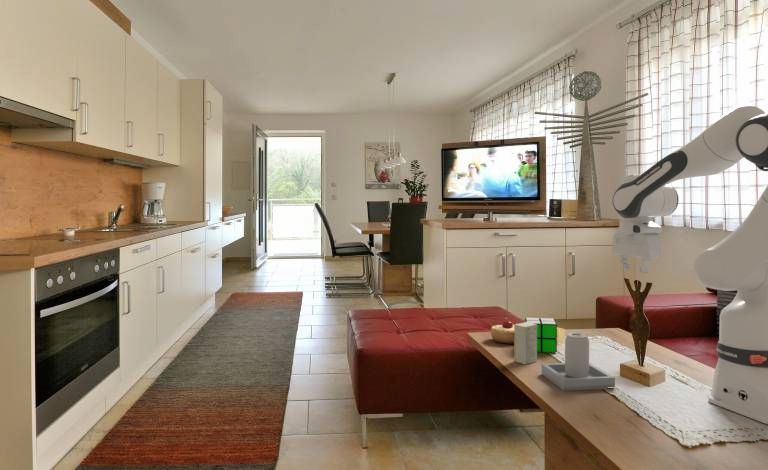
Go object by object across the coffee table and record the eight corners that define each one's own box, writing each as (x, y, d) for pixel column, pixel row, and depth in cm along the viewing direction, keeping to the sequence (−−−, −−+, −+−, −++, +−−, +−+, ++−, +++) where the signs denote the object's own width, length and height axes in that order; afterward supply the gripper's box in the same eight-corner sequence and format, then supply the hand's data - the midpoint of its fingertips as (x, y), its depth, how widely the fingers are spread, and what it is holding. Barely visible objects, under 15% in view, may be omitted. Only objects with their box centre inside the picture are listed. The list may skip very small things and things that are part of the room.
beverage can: (585, 373, 146) (585, 332, 146) (591, 380, 140) (592, 337, 140) (562, 372, 147) (562, 331, 147) (568, 379, 141) (568, 337, 140)
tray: (614, 388, 136) (615, 377, 136) (564, 390, 135) (564, 379, 135) (587, 371, 151) (587, 362, 151) (541, 374, 149) (541, 363, 149)
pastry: (497, 346, 181) (497, 321, 181) (486, 338, 193) (486, 315, 192) (529, 344, 183) (529, 320, 183) (515, 336, 195) (515, 314, 194)
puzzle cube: (553, 346, 181) (554, 318, 180) (556, 353, 171) (557, 324, 171) (524, 344, 183) (525, 317, 183) (526, 352, 173) (526, 323, 173)
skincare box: (526, 358, 166) (526, 321, 165) (537, 361, 162) (537, 324, 161) (513, 361, 162) (513, 324, 162) (524, 364, 158) (524, 326, 158)
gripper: (607, 226, 168) (606, 267, 168) (645, 228, 147) (645, 275, 148) (625, 226, 168) (624, 267, 169) (665, 227, 148) (665, 274, 149)
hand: (634, 271), depth 158 cm, fingers open, 8 cm apart
